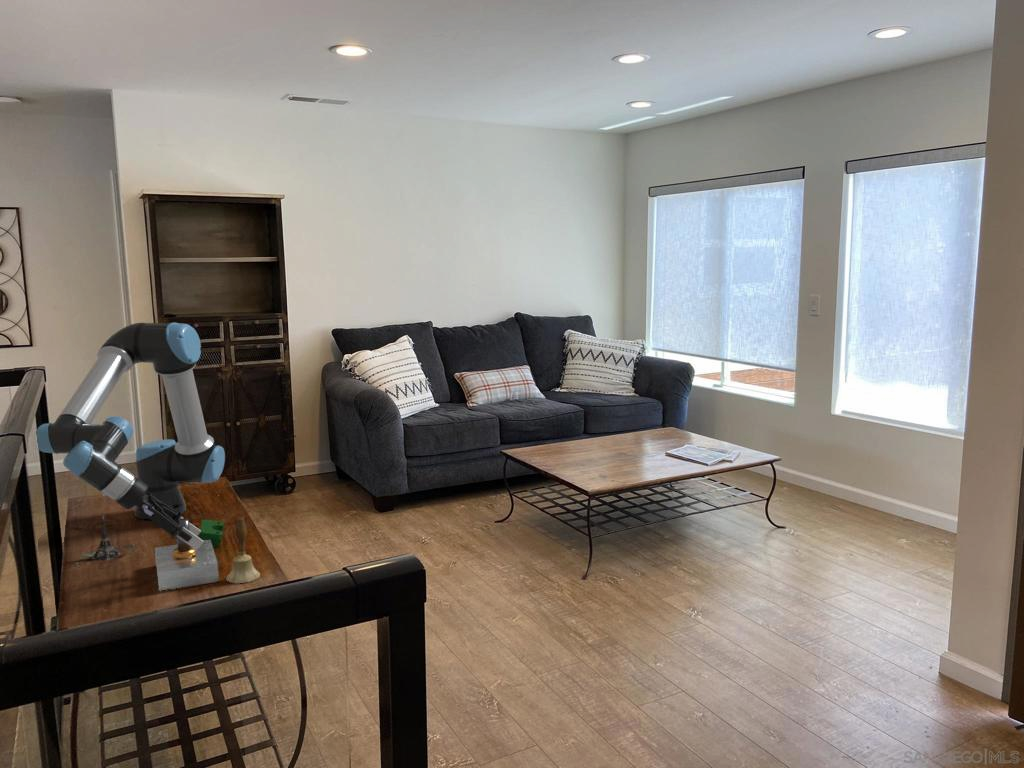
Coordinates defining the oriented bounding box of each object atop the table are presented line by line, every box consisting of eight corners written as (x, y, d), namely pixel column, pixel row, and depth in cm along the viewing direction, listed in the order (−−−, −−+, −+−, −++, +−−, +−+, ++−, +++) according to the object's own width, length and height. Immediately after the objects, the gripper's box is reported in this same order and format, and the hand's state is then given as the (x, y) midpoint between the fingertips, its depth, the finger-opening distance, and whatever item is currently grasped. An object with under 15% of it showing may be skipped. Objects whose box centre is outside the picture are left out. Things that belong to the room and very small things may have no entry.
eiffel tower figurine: (135, 546, 224) (131, 501, 222) (138, 558, 216) (135, 511, 213) (75, 556, 217) (71, 510, 214) (77, 569, 208) (72, 521, 206)
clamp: (216, 562, 222) (221, 539, 218) (194, 560, 220) (199, 536, 216) (221, 533, 232) (226, 510, 228) (200, 531, 230) (205, 508, 226)
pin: (173, 570, 206) (170, 518, 203) (196, 566, 208) (193, 515, 206) (174, 578, 201) (171, 525, 198) (198, 574, 203) (194, 522, 201)
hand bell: (231, 571, 206) (227, 513, 203) (263, 570, 207) (260, 512, 204) (222, 584, 198) (218, 524, 195) (255, 583, 198) (252, 523, 196)
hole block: (156, 565, 209) (154, 547, 208) (211, 556, 215) (210, 539, 215) (159, 591, 193) (157, 572, 193) (218, 581, 200) (217, 562, 199)
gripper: (114, 489, 203) (185, 538, 213) (114, 513, 185) (191, 565, 195) (135, 467, 204) (205, 517, 214) (137, 488, 186) (212, 542, 196)
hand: (198, 540), depth 204 cm, fingers open, 8 cm apart
